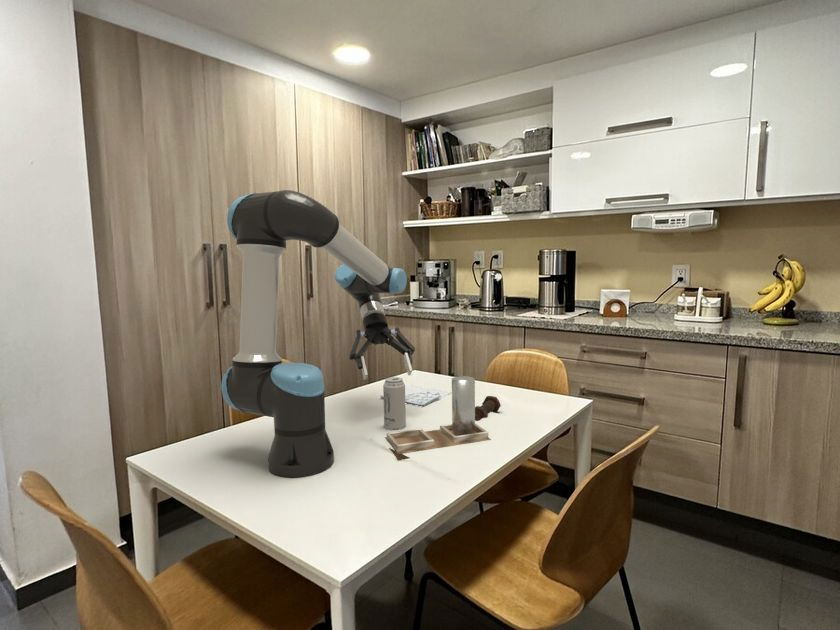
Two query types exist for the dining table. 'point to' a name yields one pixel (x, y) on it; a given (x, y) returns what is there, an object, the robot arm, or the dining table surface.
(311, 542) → the dining table surface
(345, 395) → the dining table surface
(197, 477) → the dining table surface
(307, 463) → the robot arm
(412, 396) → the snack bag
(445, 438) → the tray
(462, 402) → the cylinder
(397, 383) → the energy drink can
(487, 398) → the bolt
